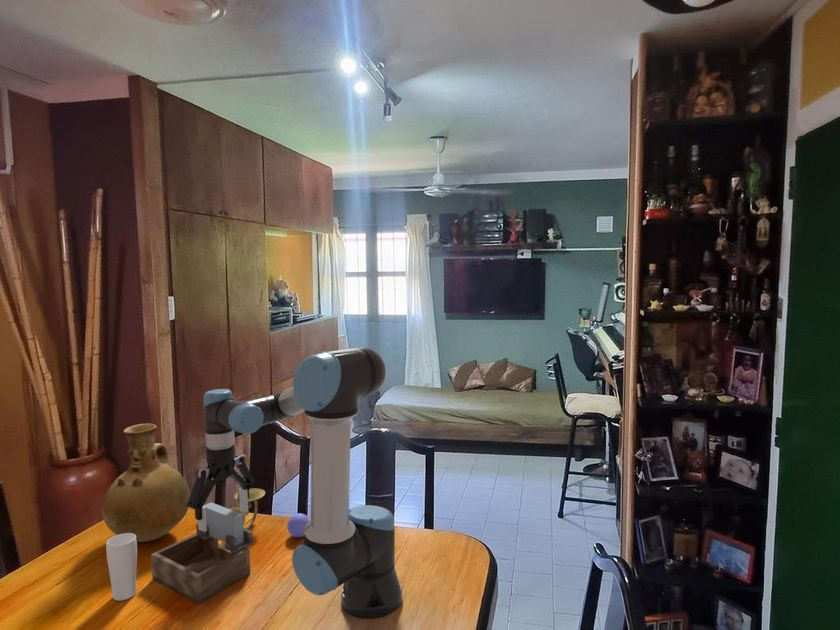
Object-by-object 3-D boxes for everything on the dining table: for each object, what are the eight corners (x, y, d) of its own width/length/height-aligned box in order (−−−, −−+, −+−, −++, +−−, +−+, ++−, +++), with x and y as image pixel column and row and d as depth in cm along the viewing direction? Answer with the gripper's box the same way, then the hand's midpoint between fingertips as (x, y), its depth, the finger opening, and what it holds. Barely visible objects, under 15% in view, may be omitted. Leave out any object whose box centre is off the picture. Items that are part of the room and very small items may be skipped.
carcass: (256, 569, 149) (255, 533, 148) (198, 604, 134) (196, 563, 133) (211, 549, 160) (210, 514, 159) (152, 579, 145) (150, 541, 144)
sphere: (308, 541, 164) (307, 519, 164) (285, 541, 164) (284, 519, 164) (312, 530, 171) (312, 509, 171) (290, 530, 171) (290, 509, 171)
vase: (139, 518, 181) (133, 415, 177) (206, 522, 177) (202, 417, 174) (85, 555, 157) (78, 438, 154) (162, 561, 154) (156, 441, 151)
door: (246, 540, 150) (245, 513, 149) (234, 546, 147) (233, 518, 146) (215, 527, 158) (213, 501, 157) (203, 533, 154) (202, 506, 154)
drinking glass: (118, 607, 133) (115, 548, 132) (103, 598, 137) (100, 541, 135) (145, 592, 139) (142, 536, 138) (130, 584, 143) (127, 530, 141)
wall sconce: (249, 542, 164) (246, 462, 162) (221, 538, 166) (218, 459, 164) (271, 521, 178) (269, 447, 176) (245, 518, 180) (242, 445, 178)
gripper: (248, 432, 162) (251, 501, 163) (170, 456, 141) (174, 535, 143) (265, 436, 158) (268, 506, 159) (187, 461, 137) (192, 542, 139)
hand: (224, 520), depth 151 cm, fingers open, 13 cm apart
